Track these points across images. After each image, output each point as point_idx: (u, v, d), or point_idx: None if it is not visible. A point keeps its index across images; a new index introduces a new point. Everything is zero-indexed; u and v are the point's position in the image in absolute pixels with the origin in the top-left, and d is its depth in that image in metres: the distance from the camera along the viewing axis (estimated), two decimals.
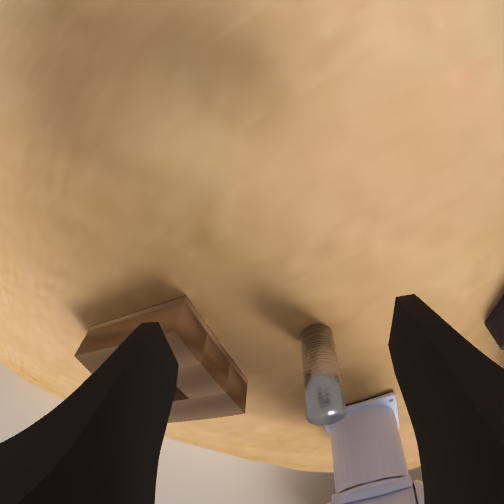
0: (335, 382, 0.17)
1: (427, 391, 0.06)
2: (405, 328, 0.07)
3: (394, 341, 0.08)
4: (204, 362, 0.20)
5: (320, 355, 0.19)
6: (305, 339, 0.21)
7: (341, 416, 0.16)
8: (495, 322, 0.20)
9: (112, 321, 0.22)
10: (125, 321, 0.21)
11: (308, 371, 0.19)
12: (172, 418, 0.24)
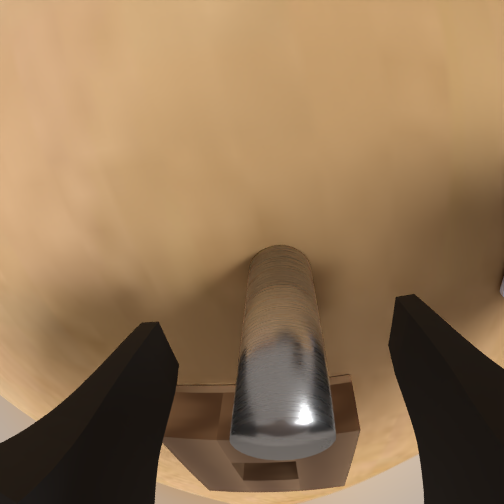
0: (248, 361, 0.07)
1: (427, 391, 0.06)
2: (405, 328, 0.07)
3: (394, 341, 0.08)
4: (225, 433, 0.13)
5: None
6: None
7: (304, 425, 0.06)
8: None
9: None
10: None
11: None
12: (338, 474, 0.15)
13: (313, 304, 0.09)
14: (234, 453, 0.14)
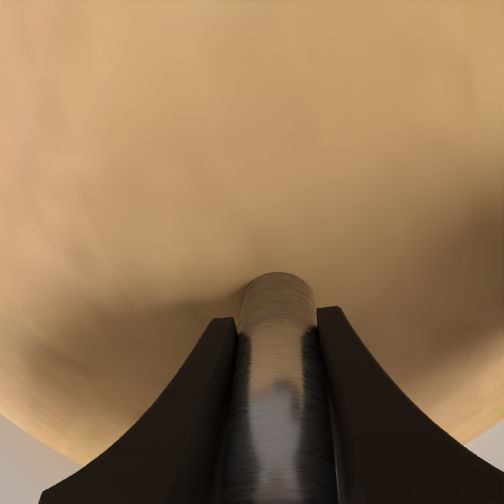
0: (239, 423, 0.06)
1: (335, 409, 0.06)
2: (321, 341, 0.08)
3: None
4: None
5: (234, 368, 0.08)
6: None
7: (303, 503, 0.04)
8: None
9: None
10: None
11: None
12: (338, 497, 0.14)
13: (316, 347, 0.08)
14: None
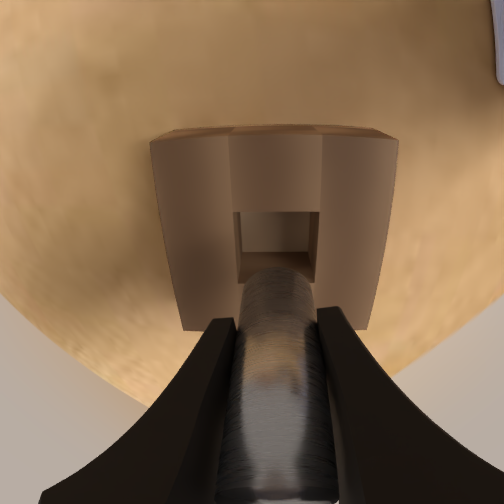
0: (237, 410, 0.06)
1: (335, 409, 0.06)
2: (321, 341, 0.08)
3: None
4: (238, 133, 0.12)
5: (233, 358, 0.08)
6: None
7: (303, 492, 0.04)
8: None
9: None
10: None
11: None
12: (366, 279, 0.14)
13: (315, 339, 0.08)
14: (243, 178, 0.12)
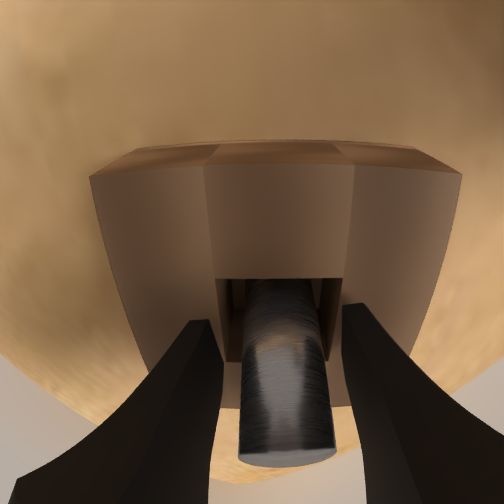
0: (252, 381, 0.07)
1: (365, 405, 0.06)
2: (348, 338, 0.08)
3: (343, 349, 0.09)
4: (221, 161, 0.07)
5: (243, 333, 0.09)
6: None
7: (309, 447, 0.06)
8: None
9: None
10: None
11: None
12: None
13: (313, 315, 0.09)
14: (229, 231, 0.08)
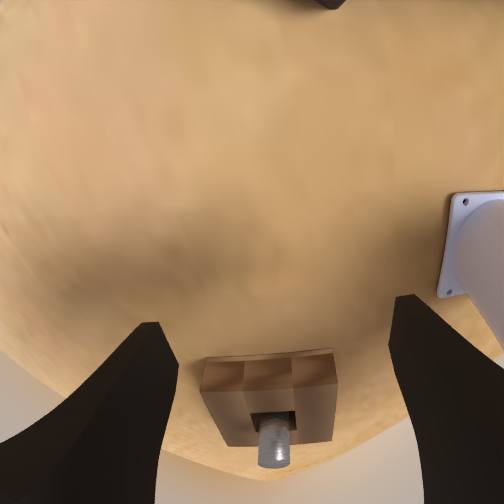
0: (262, 440, 0.21)
1: (427, 391, 0.06)
2: (405, 328, 0.07)
3: (394, 341, 0.08)
4: (247, 386, 0.21)
5: None
6: None
7: (278, 459, 0.19)
8: None
9: None
10: None
11: None
12: (326, 426, 0.23)
13: (285, 415, 0.23)
14: (253, 403, 0.22)
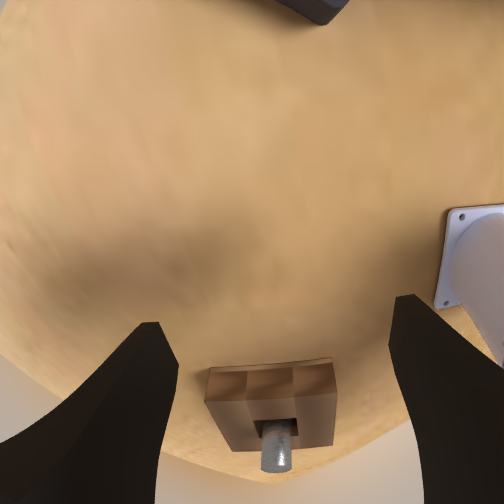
0: (265, 446, 0.21)
1: (427, 391, 0.06)
2: (405, 328, 0.07)
3: (394, 341, 0.08)
4: (250, 396, 0.22)
5: None
6: None
7: (280, 465, 0.20)
8: (307, 11, 0.11)
9: None
10: None
11: None
12: (327, 432, 0.24)
13: (287, 422, 0.23)
14: (255, 411, 0.22)
